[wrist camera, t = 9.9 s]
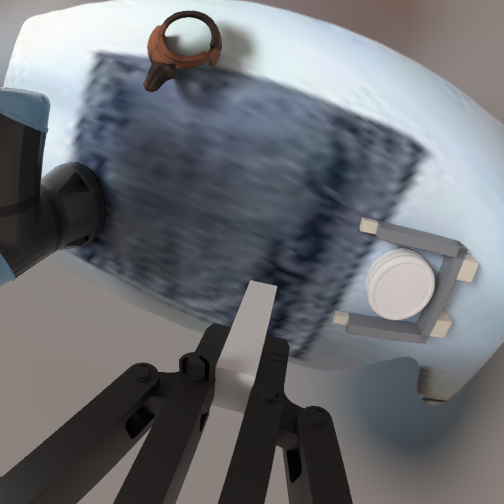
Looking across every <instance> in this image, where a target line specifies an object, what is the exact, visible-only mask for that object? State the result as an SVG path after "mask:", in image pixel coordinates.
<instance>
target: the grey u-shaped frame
mask: <svg viewBox="0 0 504 504" xmlns="http://www.w3.org/2000/svg"><path fill="white" fill-rule="evenodd" d="M360 231H362V232H367V233H371V234H375V235H376V237H377V238H378V240H383V241H387V242H392V243H396V244H401V245H405V246H409V247H414V248H418V249H422V250H426V251H431V252H435V253H439V254H443V255H445V258H444V261H443V264H442V266H441V269H440V271H439V274H438V277H437V279H436V282H435V288H434V292H433V295H432V297H431V299H430V301H429V302H428V304H427V305H426V306H425V307H424V309H423V311H422V314H421V316H420V318H419V320H418V322H417V323H410V322H403V321H397V320H389V319H384V318H378V317H371V316H365V315H359V314H353V313H348V312H342V311H335V314H334V317H333V323H336V324H342V325H346V331H347V333H351V334H357V335H364V336H370V337H377V338H384V339H392V340H400V341H408V342H416V343H426V341H427V339H428V337H429V336H432V337H441V338H444V337H445V335H446V333H447V331H448V329H449V327H450V326H451V324H452V321H451V320H450V318H449V316H448V314H447V312H446V311H442V310H443V308H444V306H445V304H446V302H447V299H448V297H449V295H450V293H451V291H452V288H453V286H454V284H455V281H456V279H457V280H462V281H466V282H472V279H473V277H474V275H475V272H476V270H477V267H478V265H479V263H478V262H477V261H476V260H475V259H474V258H473V257H472V256H471V255H469V254H466V253H467V250H468V249H466V248H465V247H464V246H463V245H462V244H461V243H460V242H459V241H456V240H452V239H449V238H445V237H441V236H437V235H434V234H430V233H426V232H422V231H418V230H414V229H410V228H406V227H402V226H398V225H394V224H390V223H385V222H381V221H377V220H372V219H368V218H363V217H362V220H361V224H360Z"/></svg>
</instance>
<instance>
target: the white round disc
mask: <svg viewBox="0 0 504 504" xmlns="http://www.w3.org/2000/svg"><path fill="white" fill-rule="evenodd" d="M434 288H435V278H434V273H433V270H432V269H431V267H430V266H429V264H428V263H427V261H426V260H425V259H424V257H423V256H422V255H421V254H419V253H418V252H416V251H414V250H411V249H407V248H397V249H393V250H390V251H387V252H385V253H383V254H382V255H381V256H379V257H378V258H377V259H376V260H375V261H374V262H373V263H372V265H371V266H370V268H369V270H368V273H367V276H366V279H365V290H366V294H367V298H368V302H369V304H370V306H371V308H372V309H373V310H374V311H375V312H376V314H378V315H379V316H381V317H383V318H386V319H389V320H402V319H406V318H409V317H412V316H414V315H416V314H417V313H419V312H420V311H421V310H422V309H423V308H424V307H425V306H426V305H427V304H428V302H429V301H430V299H431V297H432V295H433V292H434Z"/></svg>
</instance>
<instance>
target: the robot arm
mask: <svg viewBox="0 0 504 504" xmlns="http://www.w3.org/2000/svg"><path fill="white" fill-rule="evenodd" d="M49 111H50V101H49V99H48V97H47V96H46V95H44V94H42V93H38V92H33V91H28V90H22V89H15V88H7V87H0V287H1V286H2V285H4V284H6V283H7V282H9V281H13V280H14V279H15V278H17V277H18V276H19V275H21V274H22V273H24V272H25V271H26V270H28V269H30V268H31V267H32V266H34V265H35V264H37V263H38V262H40V261H41V260H43V259H44V258H46V257H48V256H49V255H51V254H52V253H54V252H55V251H57V250H63V249H71V248H78V247H82V246H85V245H87V244H89V243H90V242H92V241H93V240H95V239H96V238H97V237H98V236H99V234H100V232H101V230H102V228H103V225H104V219H105V204H104V198H103V194H102V191H101V188H100V185H99V183H98V181H97V179H96V178H95V176H94V175H93V174H92V172H91V171H90V170H89V169H88V168H87V167H85V166H84V165H82V164H80V163H77V162H69V163H65V164H62V165H59V166H57V167H55V168H54V169H53V170H51V171H50V172H49V173H48V174H46V175H45V176H44V177H43V178H41V174H42V163H43V153H44V146H45V140H46V134H47V132H48V127H47V126H48V118H49ZM276 289H277V286H274V285H269V284H265V283H260V282H256V281H251V280H250V283H249V285H248V288H247V290H246V293H245V295H244V298H243V300H242V303H241V305H240V308H239V310H238V313H237V315H236V318H235V320H234V323H233V325H232V327H228V326H224V325H220V324H216V323H214V324H212V325H211V326H210V327H208V328H207V329H206V331H205V333H204V335H203V337H202V339H201V341H200V343H199V345H198V347H197V349H196V351H195V352H191V353H187V354H185V355H183V356H182V357H181V358H180V359H179V368H180V371H179V372H175V373H166V372H158V370H157V369H156V368H155V367H154V366H153V365H151V364H148V363H137V364H134V365H133V366H131V367H130V368H129V369H127V370H126V371H125V372H124V373H123V374H122V375H120V377H118V378H117V379H116V380H115V381H114V382H112V383H111V384H110V385H109V386H108V387H107V388H105V389H104V390H103V391H102V392H101V393H100V394H99V395H97V396H96V397H95V398H94V399H93V400H92V401H90V402H89V403H88V404H87V405H86V406H85V407H83V408H82V409H81V410H80V411H79V412H78V413H77V414H75V415H74V416H73V417H72V418H71V419H70V420H68V421H67V422H66V423H65V424H64V425H63V426H62V427H60V428H59V429H58V430H57V431H56V432H54V433H53V434H52V435H51V436H50V437H49V438H47V439H46V440H45V441H44V442H43V443H42V444H40V445H39V446H38V447H37V448H36V449H34V450H33V451H32V452H31V453H30V454H29V455H28V456H26V457H25V458H24V459H23V460H22V461H20V462H19V463H18V464H17V465H16V466H14V467H13V468H12V469H11V470H10V471H9V472H7V473H6V474H5V475H4V476H2V477H0V504H77V503H78V502H79V501H80V500H81V499H82V498H83V497H84V496H85V495H86V494H87V493H88V492H89V491H90V490H91V489H92V488H93V487H94V486H95V485H96V484H97V483H98V482H99V481H100V480H101V479H102V478H103V477H104V476H105V475H106V474H107V473H108V472H109V471H110V470H111V469H112V468H113V467H114V466H115V465H116V464H117V463H118V462H119V461H120V459H122V458H123V457H124V456H125V455H126V453H127V452H128V451H129V450H130V449H131V448H132V447H133V446H134V445H135V444H136V443H137V442H138V441H139V440H140V439H141V438H142V437H143V436H144V434H145V433H146V432H147V431H148V430H149V429H150V428H151V427H152V428H151V430H150V432H149V434H148V436H147V437H146V440H145V442H144V443H143V446H142V447H141V449H140V451H139V453H138V455H137V457H136V459H135V461H134V463H133V465H132V468H131V469H130V471H129V473H128V475H127V477H126V479H125V481H124V483H123V485H122V487H121V489H120V491H119V493H118V495H117V497H116V499H115V501H114V503H113V504H175V503H176V500H177V498H178V495H179V493H180V490H181V488H182V485H183V483H184V480H185V477H186V475H187V472H188V469H189V467H190V464H191V461H192V459H193V456H194V454H195V451H196V448H197V446H198V443H199V440H200V438H201V435H202V432H203V430H204V427H205V425H206V422H207V419H208V416H209V410H210V407H211V404H212V405H215V406H218V407H222V408H226V409H229V410H233V411H238V412H241V413H244V417H243V421H242V424H241V428H240V431H239V435H238V438H237V442H236V445H235V449H234V452H233V456H232V459H231V462H230V466H229V469H228V472H227V476H226V479H225V483H224V485H223V489H222V492H221V495H220V498H219V501H218V504H264V502H265V497H266V493H267V488H268V484H269V478H270V474H271V469H272V463H273V459H274V453H275V447H276V445H277V446H279V447H281V448H283V457H284V464H285V472H286V481H287V489H288V497H289V504H353V503H352V498H351V494H350V489H349V485H348V482H347V477H346V473H345V469H344V464H343V460H342V457H341V452H340V448H339V444H338V440H337V436H336V432H335V429H334V425H333V421H332V418H331V416H330V414H329V412H327V411H326V410H325V409H323V408H321V407H318V406H309V407H306V408H302V407H300V406H297V405H295V404H293V403H292V402H291V401H290V400H289V399H288V398H287V397H286V395H285V393H284V383H285V376H286V369H287V362H288V355H289V345H288V343H287V340H286V339H282V338H277V337H273V336H268V335H266V332H267V328H268V324H269V320H270V315H271V311H272V307H273V302H274V298H275V294H276ZM212 401H213V402H212Z"/></svg>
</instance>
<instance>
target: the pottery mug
mask: <svg viewBox="0 0 504 504" xmlns="http://www.w3.org/2000/svg"><path fill="white" fill-rule="evenodd" d="M186 17H191V18H196V19H199V20H201V21H203V22H204V23H206V24H207V25H208V27H209V28H210V31H211V34H212V40H211V43H210V47H211V48H210V49H209V51H208V52H207V53H206V52H204V51H203V52H201V53H199V54H197V55H193V56H182V55H178V54H175V53H173V52H172V51H171V50H170V49H169V48H168V47H167V46H166V44H165V41H164V40H165V39H166V36H165V35H164V34H165V31H166V29H167V28H168V26H169V25H170V24H171V23H172V22H174V21H176V20H178V19H181V18H186ZM147 49H148V56H149V59H150V61H151V63H152V65H151V67H150V69H149V71H148V74H147V77H146V79H145V81H144V83H143V85H144V88H145V89H146V90H147V91H148V92H154V91H157V90H158V89H159V88H160V87H161V86H162V85H163V84H164V83H165V82H166V81H167V80H170V79H174V78H175V75H174V69H173V68H172V67H171V66H170V65H169V64H175V65H176V68H189V67H193V66H197V65H201V64H204V63H206V62H207V61H210V64H209V65H210V66H213V65H214V64H215V62H216V61H217V60H218V57H219V56H220V51H221V49H222V42H221V35H220V32H219V30H218V27H217V25H216V24H215V23H214V21H213V20H212V18H210V17H209V16H207V15H206V14H204V13H201V12H198V11H182V12H177V13H174V14H173V15H172V16H170V17H168V18H167V19H166V20H165V21H164V23H163V24H162V25H161V26H157V27H156V28H155V29H154V30H153V32H152V33H151V35H150V37H149V41H148V46H147Z"/></svg>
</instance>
